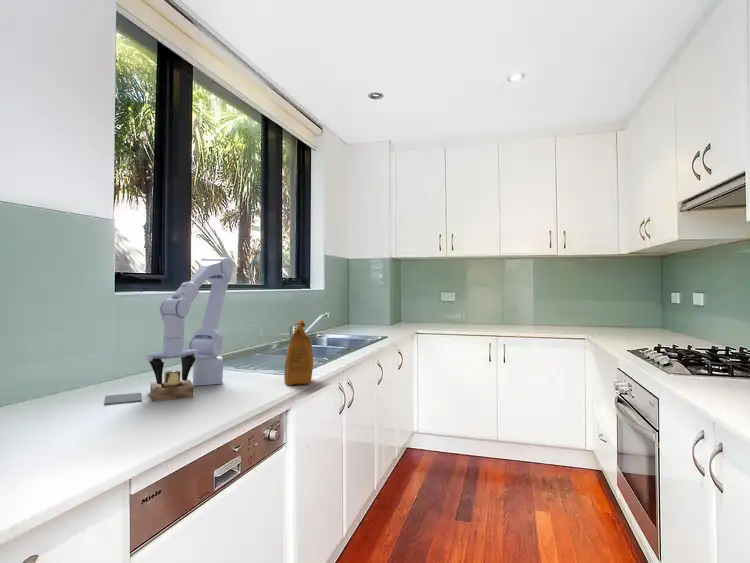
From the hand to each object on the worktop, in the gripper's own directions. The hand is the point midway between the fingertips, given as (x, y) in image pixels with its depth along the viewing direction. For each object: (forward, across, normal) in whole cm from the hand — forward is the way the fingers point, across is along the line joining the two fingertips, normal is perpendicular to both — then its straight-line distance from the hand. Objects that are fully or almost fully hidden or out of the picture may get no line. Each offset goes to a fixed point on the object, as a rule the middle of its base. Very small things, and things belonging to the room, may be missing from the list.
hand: (172, 381), depth 127 cm
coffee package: (+4, -39, +11) cm, 41 cm away
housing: (+4, 0, 0) cm, 4 cm away
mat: (+4, +12, -4) cm, 13 cm away
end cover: (+4, 0, 0) cm, 4 cm away
